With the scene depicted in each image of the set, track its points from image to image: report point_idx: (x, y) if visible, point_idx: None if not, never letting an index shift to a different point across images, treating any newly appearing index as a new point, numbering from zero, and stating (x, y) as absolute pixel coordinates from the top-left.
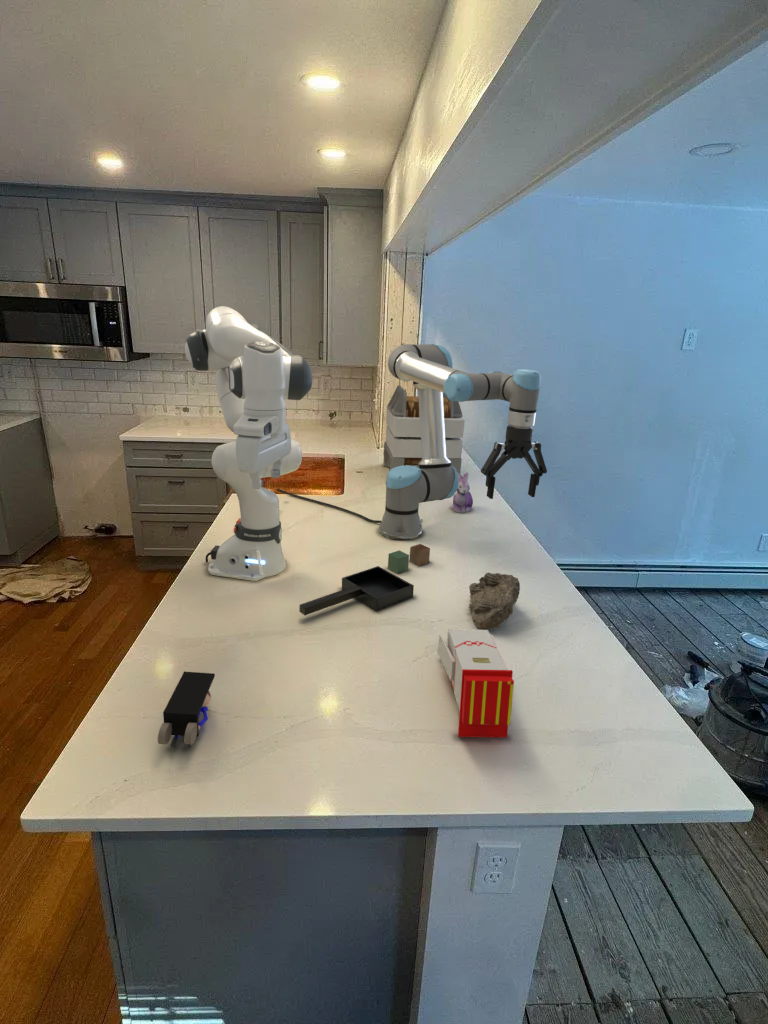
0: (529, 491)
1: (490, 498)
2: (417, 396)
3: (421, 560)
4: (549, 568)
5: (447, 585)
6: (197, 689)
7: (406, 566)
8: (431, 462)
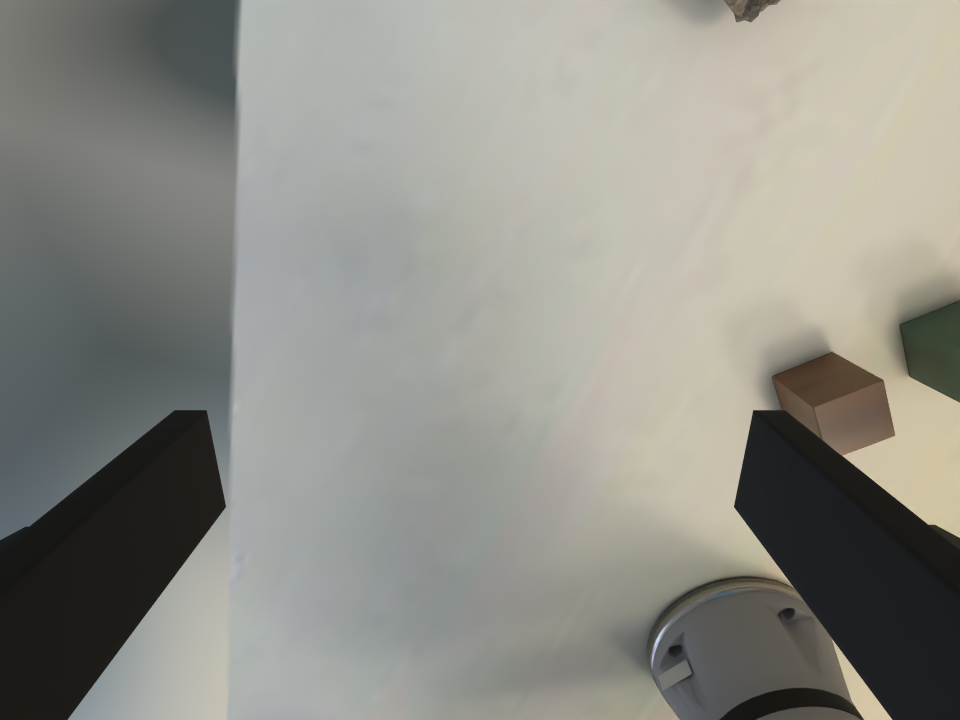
0: (199, 511)
1: (786, 415)
2: None
3: (834, 366)
4: (241, 229)
5: (819, 142)
6: None
7: (927, 325)
8: None
